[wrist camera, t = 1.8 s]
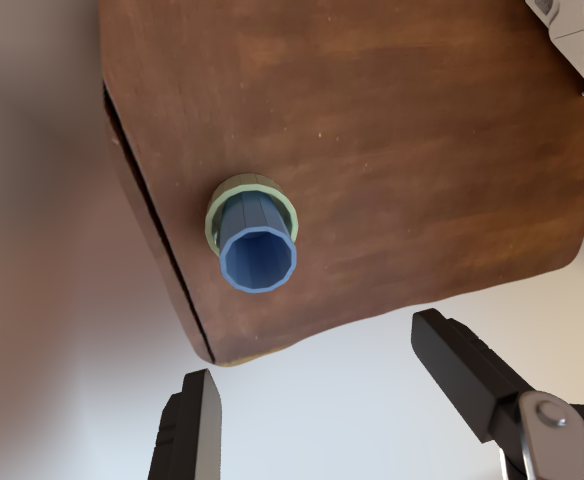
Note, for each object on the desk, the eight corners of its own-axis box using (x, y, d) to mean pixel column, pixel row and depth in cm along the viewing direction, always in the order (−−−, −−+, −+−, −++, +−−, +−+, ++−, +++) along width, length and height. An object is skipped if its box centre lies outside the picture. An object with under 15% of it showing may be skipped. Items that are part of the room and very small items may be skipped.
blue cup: (213, 227, 30) (207, 279, 21) (236, 179, 28) (240, 214, 19) (262, 246, 32) (274, 301, 23) (286, 203, 30) (309, 244, 21)
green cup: (195, 231, 30) (190, 251, 26) (229, 157, 27) (229, 166, 23) (266, 259, 33) (271, 280, 29) (303, 194, 31) (314, 208, 27)
